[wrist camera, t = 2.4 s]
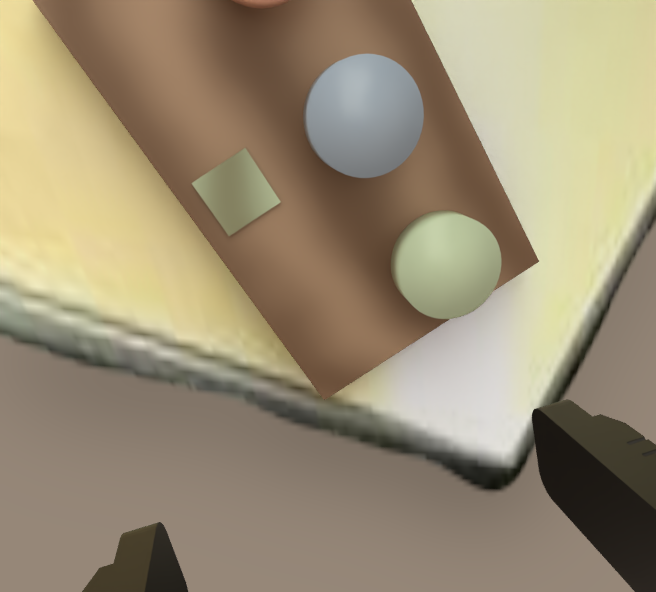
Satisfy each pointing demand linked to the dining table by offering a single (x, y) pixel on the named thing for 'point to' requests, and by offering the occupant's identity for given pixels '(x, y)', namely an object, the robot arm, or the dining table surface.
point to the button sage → (446, 264)
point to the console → (291, 158)
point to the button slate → (363, 115)
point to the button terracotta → (261, 3)
